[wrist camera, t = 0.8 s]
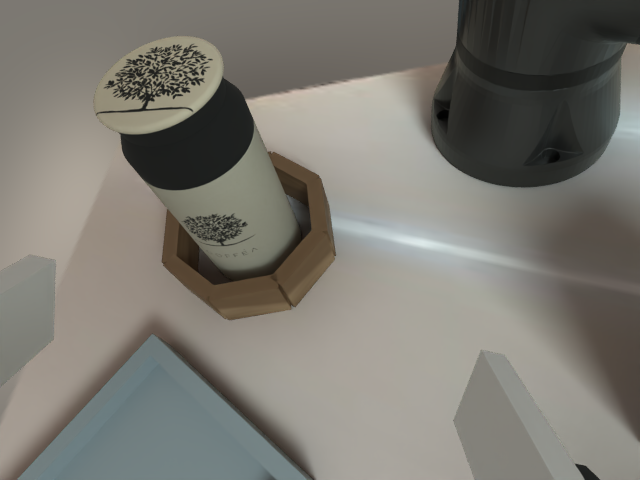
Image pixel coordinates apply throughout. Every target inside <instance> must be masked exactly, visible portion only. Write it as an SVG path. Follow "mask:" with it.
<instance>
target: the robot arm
mask: <svg viewBox="0 0 640 480" xmlns="http://www.w3.org/2000/svg"><path fill="white" fill-rule="evenodd" d="M627 43H631V44H639V45H640V0H459V11H458V29H457V42H456V47H455V50H454V52H453V54H452V56H451V58H450V60H449V63H448V65H447V67H446V69H445V71H444V74H443V76H442V78H441V80H440V82H439V85H438V87H437V89H436V91H435V94H434V98H433V102H432V115H431V129H432V135H433V138H434V141H435V143H436V145H437V147H438V149H439V150H440V152H441V153H442V154H443V156H444V157H445V158H446V159H447V160H448V161H449V162H450V163H451V164H453V165H454V166H455V167H456V168H458V169H459V170H461V171H463V172H464V173H466V174H468V175H470V176H472V177H474V178H477V179H479V180H482V181H485V182H489V183H492V184H497V185H502V186H510V187H537V186H544V185H550V184H554V183H558V182H561V181H564V180H567V179H569V178H572V177H574V176H576V175H578V174H580V173H581V172H583V171H585V170H586V169H588V168H589V167H590V166H591V165H593V164H594V163H595V162H596V161H597V160H598V159H599V158H600V156H601V155H602V154H603V152H604V151H605V149H606V147H607V145H608V143H609V141H610V139H611V137H612V135H613V133H614V131H615V129H616V127H617V124H618V120H619V115H620V85H621V56H622V54H623V51H624V49H625V47H626V45H627ZM55 273H56V260H53V259H48V258H44V257H38V256H34V255H28V256H26V257H25V258H23V259H21V260H19V261H17V262H16V263H14V264H12V265H10V266H8V267H7V268H5V269H3V270H1V271H0V387H1V386H2V385H4V384H5V383H6V382H7V381H8V380H9V379H10V378H11V377H12V376H13V375H15V374H16V373H17V372H18V371H19V370H20V369H21V368H22V367H23V366H25V365H26V364H27V363H28V362H29V361H30V360H31V359H32V358H33V357H34V356H36V355H37V354H38V353H39V352H40V351H41V350H42V349H43V348H44V347H46V346H47V345H48V344H49V343H50V342H51V341H52V340H53V339H54V308H55ZM453 421H454V424H455V427H456V429H457V432H458V435H459V438H460V440H461V443H462V446H463V449H464V451H465V454H466V457H467V460H468V463H469V465H470V468H471V471H472V474H473V476H474V479H475V480H600V479H599V478H598V477H597V476H596V475H595V474H594V473H593V472H592V471H591V470H590V469H588V468H587V467H586V466H584V465H579V464H574V462H573V460H572V459H571V457H570V456H569V454H568V453H567V451H566V450H565V448H564V446H563V445H562V443H561V442H560V440H559V439H558V437H557V435H556V434H555V432H554V431H553V429H552V428H551V426H550V425H549V423H548V421H547V420H546V418H545V417H544V415H543V414H542V412H541V410H540V409H539V407H538V406H537V404H536V403H535V401H534V400H533V398H532V396H531V395H530V393H529V392H528V390H527V389H526V387H525V386H524V384H523V382H522V381H521V379H520V378H519V376H518V375H517V373H516V371H515V370H514V368H513V367H512V365H511V364H510V362H509V361H508V359H507V357H506V356H505V355H503V354H498V353H493V352H488V351H484V350H481V352H480V354H479V357H478V359H477V362H476V364H475V367H474V370H473V372H472V375H471V377H470V380H469V382H468V385H467V387H466V390H465V392H464V395H463V397H462V400H461V402H460V405H459V407H458V410H457V412H456V415H455V417H454V420H453Z"/></svg>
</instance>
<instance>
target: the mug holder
mask: <svg viewBox="0 0 640 480" xmlns="http://www.w3.org/2000/svg"><path fill="white" fill-rule="evenodd" d="M268 155H269V157H270V159H271V161H272V164H273V166H274V168H275V171H276V173H277V175H278V178H279V180H280V182H281V185H282V187H283V189H284V192H285V194H287V195H289V196H291V197H292V198H294V199H296V200H298V201H299V202H301V203H303V204H305V205H306V206H308V207H309V210H310V219H311V228H312V230H311V231H310V232H309V234H308V235H307V236H306V237H305V238H304V239H303V240H302V242H301V243H300V244H299V245H298V246H297V247H296V248H295V250H294V251H293V252H292V253H291V254H290V255H289V256H288V258H287V259H286V260H285V261H284V262H283V263H282V265H281V266H280V267H279V268H278V269H277V270H276V271H275V273H274V274H273V275H267V276H262V277H256V278H251V279H245V280H240V281H234V282H229V283H223V284H218V285H213V284H212V283H210V282H209V281H208V280H207V279H205V278H204V277H203V276H201V275H200V274H199V273H198V261H199V245H198V244H197V243H196V242H195V241H194V239H193V238H192V237H191V236H190V235H189V233H188V232H187V231H186V230H185V229H184V228H183V226H182V225H181V224H180V223H179V222H178V220H177V219H176V218H175V217H174V216H173V214H172V213H171V212H170V211H169V210H168V209H167V216H166V226H165V236H164V245H163V255H162V263H163V264H164V265H163V266H164V267H165V268H166V269H167V270H168V271H170V272H171V273H172V274H173V275H174V276H175V277H176V278H177V279H178V280H179V281H180V282H181V283H182V284H183V285H184V286H185V287H187V288H188V289H189V290H190V291H191V292H193V293H194V294H195V295H196V296H198V297H199V298H200V299H201V300H202V301H204V302H205V303H206V304H207V305H209V306H210V307H211V308H212V309H213V310H215V311H216V312H217V313H218V314H220V315H221V316H222V317H223V318H224V319H226V318H227V319H228V320H233V319H239V318H245V317H251V316H256V315H262V314H268V313H274V312H279V311H285V310H291V305H292V306H294V307H296V306H297V304H298V303H299V302H300V301H301V300H302V298H303V297H304V296H305V295H306V293H307V292H308V291H309V290H310V289H311V287H312V286H313V285H314V284H315V283H316V281H317V280H318V279H319V278H320V277H321V275H322V274H323V273H324V272H325V270H326V269H327V268H328V267H329V266H330V264H331V263H332V262H333V261H334V260H335V258H334V256H336V252H335V245H334V238H333V231H332V223H331V216H330V209H329V204H328V201H327V197H326V194H325V191H324V187H323V184H322V181H321V178H319V175H317V174H315V173H313V172H311V171H309V170H308V169H306V168H304V167H302V166H300V165H298V164H296V163H294V162H292V161H290V160H288V159H287V158H285V157H283V156H281V155H279V154H277V153H275V152H273V153H272V154H271V152H268Z"/></svg>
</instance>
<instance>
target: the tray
mask: <svg viewBox="0 0 640 480" xmlns="http://www.w3.org/2000/svg"><path fill="white" fill-rule="evenodd" d="M17 480H313V479H312V478H311V477H310V476H309V475H307V474H306V473H305V472H304V471H303V470H302V469H301V468H300V467H299V466H298V465H297V464H296V463H295V462H294V461H293V460H291V459H290V458H289V457H288V456H287V455H286V454H285V453H284V452H283V451H282V450H281V449H280V448H279V447H278V446H277V445H275V444H274V443H273V442H272V441H271V440H270V439H269V438H268V437H267V436H266V435H265V434H264V433H263V432H262V431H261V430H260V429H258V428H257V427H256V426H255V425H254V424H253V423H252V422H251V421H250V420H249V419H248V418H247V417H246V416H245V415H244V414H242V413H241V412H240V411H239V410H238V409H237V408H236V407H235V406H234V405H233V404H232V403H231V402H230V401H229V400H228V399H226V398H225V397H224V396H223V395H222V394H221V393H220V392H219V391H218V390H217V389H216V388H215V387H214V386H213V385H212V384H210V383H209V382H208V381H207V380H206V379H205V378H204V377H203V376H202V375H201V374H200V373H199V372H198V371H197V370H196V369H195V368H193V367H192V366H191V365H190V364H189V363H188V362H187V361H186V360H185V359H184V358H183V357H182V356H181V355H180V354H179V353H177V352H176V351H175V350H174V349H173V348H172V347H171V346H170V345H169V344H168V343H166V342H165V341H163V340H162V339H160V338H159V337H157V336H156V335H154V334H152V335H151V336H150V337H149V338H148V339H147V340H146V341H145V342H144V343H143V344H142V345H141V347H140V348H139V349H138V350H137V351H136V352H135V353H134V354H133V355H132V356H131V357H130V358H129V359H128V361H127V362H126V363H125V364H124V365H123V366H122V367H121V368H120V369H119V370H118V371H117V372H116V373H115V375H114V376H113V377H112V378H111V379H110V380H109V381H108V382H107V383H106V384H105V385H104V386H103V387H102V389H101V390H100V391H99V392H98V393H97V394H96V395H95V396H94V397H93V398H92V399H91V400H90V401H89V403H88V404H87V405H86V406H85V407H84V408H83V409H82V410H81V411H80V412H79V413H78V414H77V415H76V417H75V418H74V419H73V420H72V421H71V422H70V423H69V424H68V425H67V426H66V427H65V428H64V429H63V431H62V432H61V433H60V434H59V435H58V436H57V437H56V438H55V439H54V440H53V441H52V442H51V443H50V444H49V446H48V447H47V448H46V449H45V450H44V451H43V452H42V453H41V454H40V455H39V456H38V457H37V458H36V460H35V461H34V462H33V463H32V464H31V465H30V466H29V467H28V468H27V469H26V470H25V471H24V472H23V474H22V475H21V476H20V477H19V478H18V479H17Z"/></svg>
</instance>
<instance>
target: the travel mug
mask: <svg viewBox="0 0 640 480" xmlns="http://www.w3.org/2000/svg"><path fill="white" fill-rule="evenodd" d="M223 71H224V64H223V60H222V57H221V54H220V52H219V51H218V50H217V48H216V47H215V46H214V45H212V44H211V43H210V42H208V41H206V40H203V39H201V38H197V37H189V36H176V37H169V38H164V39H160V40H156V41H153V42H151V43H148V44H146V45H143V46H141V47H139V48H137V49H135V50H134V51H132V52H130V53H129V54H127V55H126V56H124V57H123V58H121V59H120V60H119V61H118V62H116V63H115V64H114V65H113V66H112V67H111V68H110V69H109V70H108V71H107V73H106V74H105V75H104V76H103V78H102V79H101V81H100V83H99V84H98V87H97V89H96V91H95V95H94V111H95V113H96V116H97V118H98V119H99V120H100V122H101V123H102V124H103V125H105V126H106V127H107V128H109V129H111V130H113V131H116V132H118V133H120V134H121V145H122V151H123V154H124V156H125V158H126V159H127V161H128V162H129V163H130V165H131V166H132V167H133V168H134V169H135V170H136V172H137V173H138V174H139V175H140V176H141V178H142V179H143V180H144V181H145V182H146V184H147V185H148V186H149V187H150V188H151V190H152V191H153V192H154V193H155V194H156V195H157V197H158V198H159V199H160V200H161V201H162V203H163V204H164V205H165V206H166V207H167V209H168V210H169V211H170V212H171V213H172V214H173V216H174V217H175V218H176V219H177V220H178V222H179V223H180V224H181V225H182V226H183V228H184V229H185V230H186V231H187V232H188V233H189V235H190V236H191V237H192V238H193V239H194V241H195V242H196V243H197V244H198V245H199V247H200V248H201V249H202V250H203V251H204V252H205V254H206V255H207V256H208V257H209V258H210V260H211V261H212V262H213V263H214V264H215V266H216V267H217V268H218V269H219V270H220V271H221V273H222V274H223V275H225V276H226V277H227V278H229V279H231V280H233V281H240V280H245V279H251V278H256V277H262V276H267V275H273V274H274V273H275V271H276V270H277V269H278V268H279V267H280V266H281V265H282V263H283V262H284V261H285V260H286V259H287V258H288V256H289V255H290V254H291V253H292V252H293V251H294V250H295V248H296V247H297V246H298V245H299V244H300V242H301V231H300V227H299V224H298V222H297V220H296V217H295V215H294V213H293V210H292V208H291V206H290V203H289V201H288V199H287V196H286V194H285V192H284V189H283V187H282V185H281V182H280V180H279V178H278V175H277V173H276V171H275V168H274V166H273V164H272V161H271V159H270V157H269V155H268V152H267V150H266V148H265V145H264V143H263V141H262V138H261V136H260V134H259V131H258V129H257V127H256V124H255V122H254V120H253V117H252V115H251V113H250V110H249V108H248V106H247V103H246V101H245V99H244V97H243V95H242V93H241V92H240V90H239V89H238V88H237V87H235V86H234V85H233V84H231V83H230V82H228V81H227V80H225V79H224V78H223Z"/></svg>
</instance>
